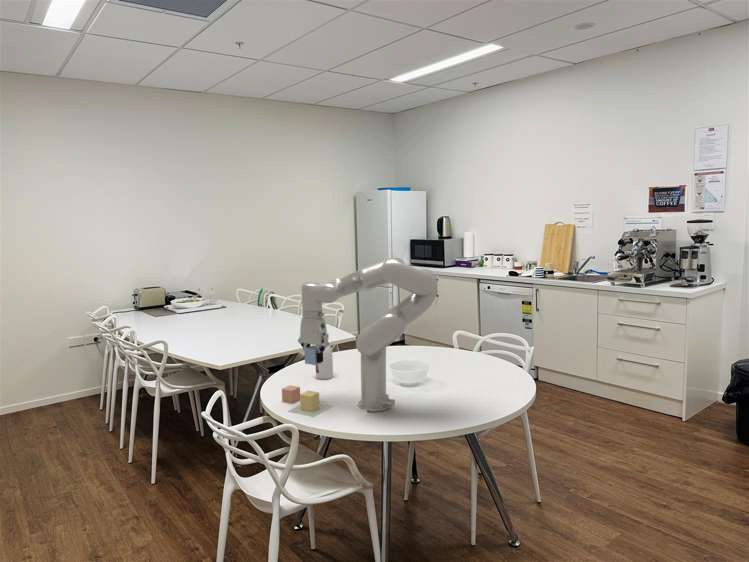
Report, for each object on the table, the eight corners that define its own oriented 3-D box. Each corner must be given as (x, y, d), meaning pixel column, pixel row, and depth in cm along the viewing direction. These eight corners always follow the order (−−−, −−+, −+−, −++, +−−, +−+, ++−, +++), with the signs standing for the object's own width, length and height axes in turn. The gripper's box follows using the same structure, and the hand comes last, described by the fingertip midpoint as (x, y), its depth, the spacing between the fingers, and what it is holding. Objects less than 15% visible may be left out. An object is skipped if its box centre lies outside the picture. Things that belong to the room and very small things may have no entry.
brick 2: (323, 362, 211) (322, 346, 210) (315, 365, 206) (314, 349, 206) (313, 360, 213) (312, 345, 213) (304, 363, 209) (304, 348, 208)
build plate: (332, 408, 207) (332, 406, 207) (313, 419, 196) (313, 416, 196) (306, 403, 213) (306, 401, 213) (287, 413, 202) (287, 411, 202)
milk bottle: (335, 375, 248) (334, 332, 246) (329, 380, 241) (328, 336, 239) (319, 374, 251) (318, 331, 248) (313, 379, 243) (312, 335, 241)
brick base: (319, 407, 205) (319, 392, 205) (311, 412, 201) (311, 396, 200) (308, 405, 208) (308, 390, 207) (300, 409, 204) (300, 394, 203)
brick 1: (300, 401, 215) (299, 387, 214) (292, 405, 211) (292, 390, 210) (290, 399, 217) (289, 385, 217) (282, 403, 213) (281, 388, 212)
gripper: (336, 314, 206) (337, 361, 208) (301, 311, 215) (303, 356, 217) (324, 318, 200) (325, 366, 202) (288, 314, 209) (290, 360, 211)
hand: (314, 360), depth 210 cm, fingers closed on brick 2, 5 cm apart
